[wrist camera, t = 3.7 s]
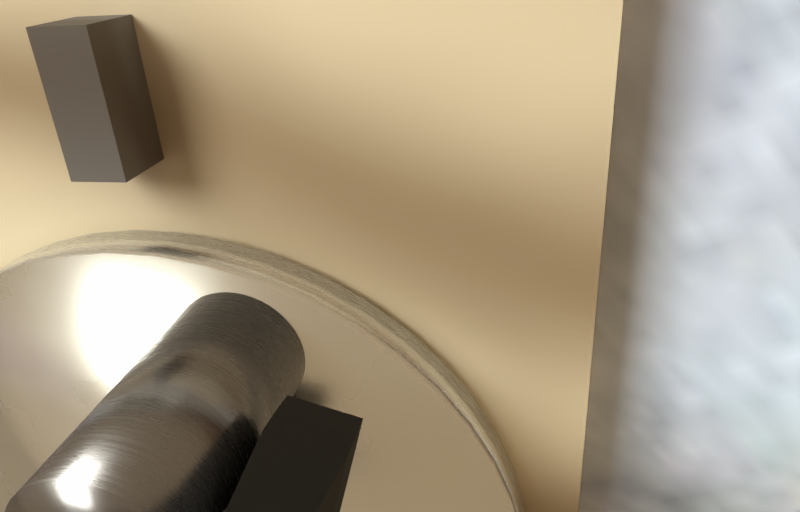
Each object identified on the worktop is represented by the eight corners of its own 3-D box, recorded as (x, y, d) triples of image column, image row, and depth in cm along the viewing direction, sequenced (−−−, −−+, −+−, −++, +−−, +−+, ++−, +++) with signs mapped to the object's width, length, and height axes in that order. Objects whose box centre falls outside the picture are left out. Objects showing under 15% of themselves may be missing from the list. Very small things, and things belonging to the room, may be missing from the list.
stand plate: (551, 754, 20) (552, 866, 18) (84, 670, 23) (31, 756, 21) (628, -190, 9) (656, -229, 7) (-259, -108, 12) (-446, -115, 10)
